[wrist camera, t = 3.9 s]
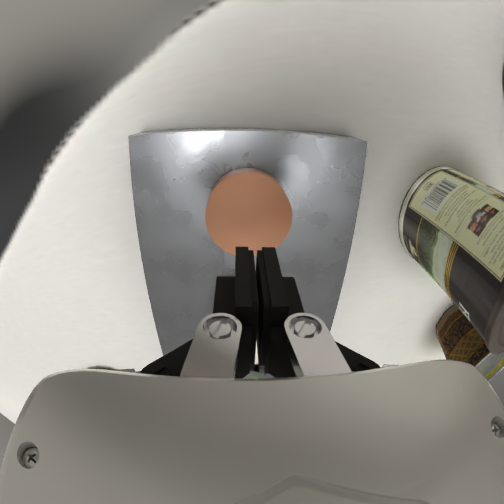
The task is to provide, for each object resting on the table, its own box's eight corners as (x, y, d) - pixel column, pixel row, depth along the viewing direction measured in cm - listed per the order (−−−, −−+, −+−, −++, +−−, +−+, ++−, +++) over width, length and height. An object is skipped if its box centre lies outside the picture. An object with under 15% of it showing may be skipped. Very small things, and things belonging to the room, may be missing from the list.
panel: (351, 136, 20) (367, 141, 17) (305, 376, 33) (309, 394, 30) (142, 132, 19) (128, 135, 16) (178, 376, 32) (175, 395, 29)
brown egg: (282, 161, 20) (295, 177, 16) (277, 224, 23) (288, 257, 18) (212, 159, 20) (203, 175, 15) (213, 223, 23) (206, 256, 18)
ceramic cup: (455, 343, 33) (484, 389, 25) (413, 346, 32) (443, 402, 23) (497, 273, 28) (539, 316, 19) (459, 265, 26) (509, 317, 18)
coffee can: (446, 269, 26) (518, 353, 14) (381, 247, 25) (465, 357, 12) (483, 188, 22) (578, 250, 9) (423, 147, 20) (551, 204, 8)
